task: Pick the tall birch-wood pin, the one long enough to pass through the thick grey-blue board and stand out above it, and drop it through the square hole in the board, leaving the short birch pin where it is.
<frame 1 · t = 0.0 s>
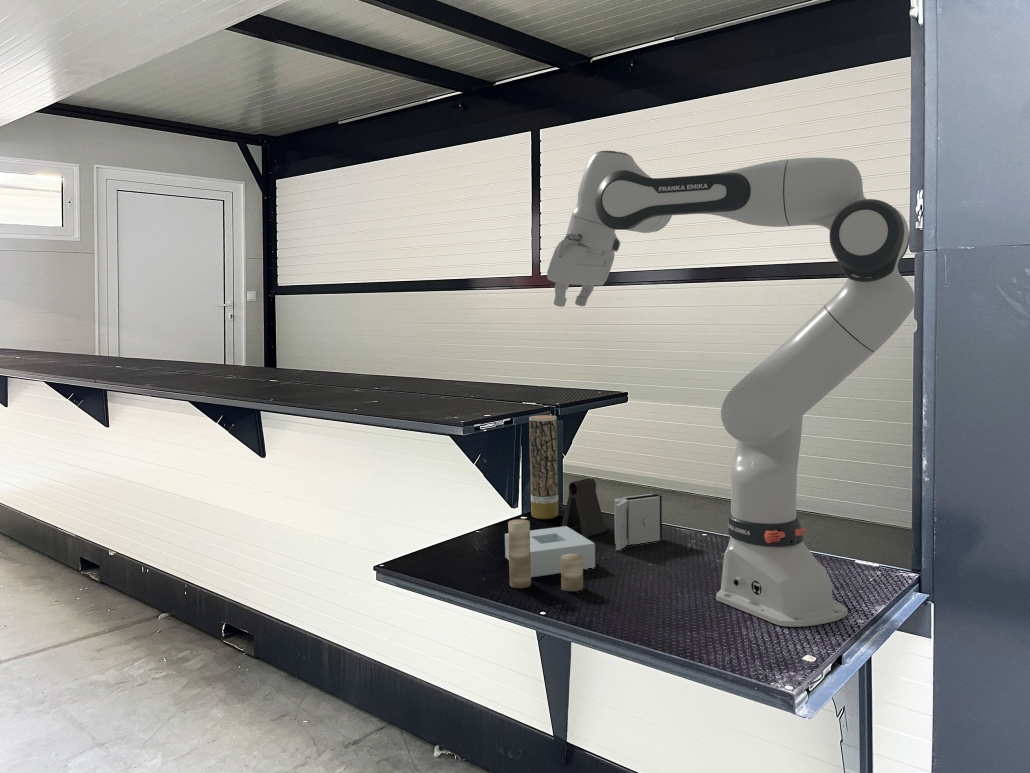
hand: (569, 305, 157), 52 cm above the counter, tool tilted 20°, fingers open, 8 cm apart
tall pin: (520, 584, 151), on the counter
bark-patterned tube: (544, 517, 200), on the counter
short pin: (572, 588, 148), on the counter
hinge: (635, 545, 175), on the counter
hole board: (549, 562, 164), on the counter
phone stand: (583, 532, 186), on the counter
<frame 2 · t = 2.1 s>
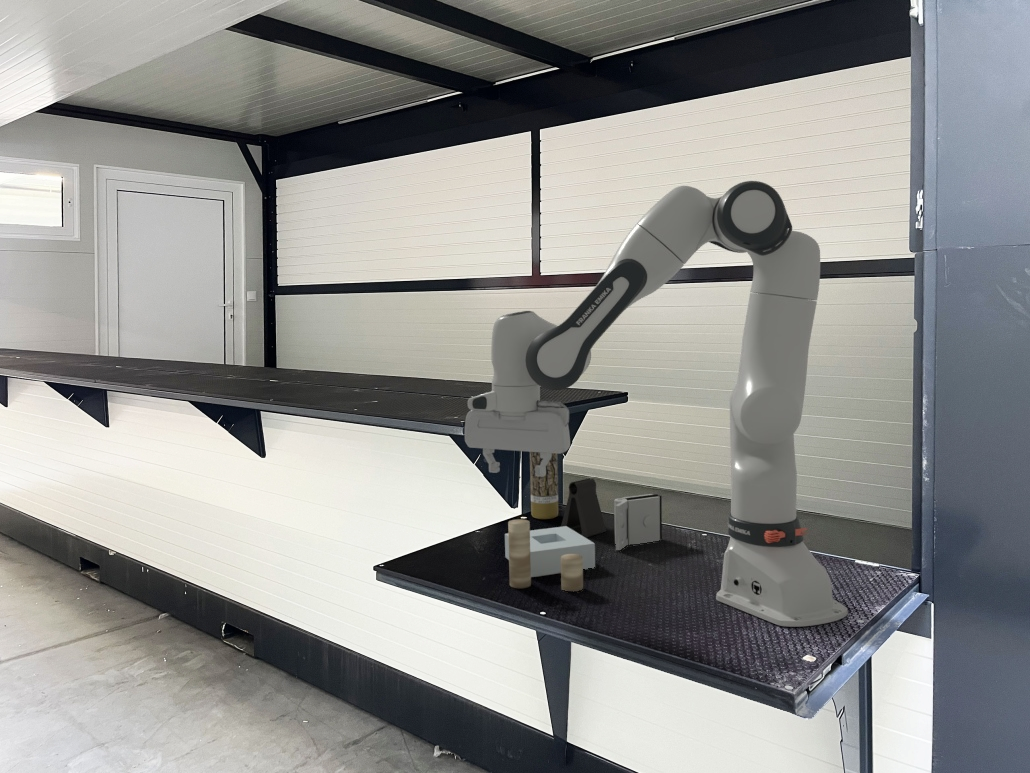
hand: (517, 474, 149), 21 cm above the counter, tool pointing down, fingers open, 8 cm apart
nothing on the counter moved.
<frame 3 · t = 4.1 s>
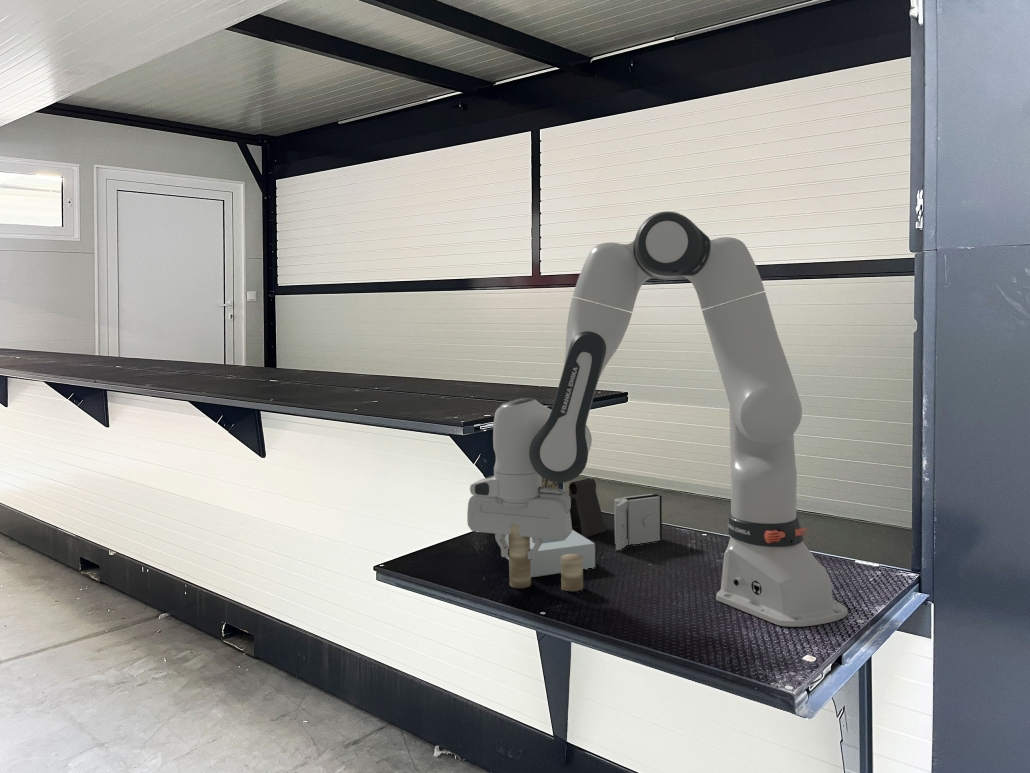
hand: (519, 558, 150), 5 cm above the counter, tool pointing down, fingers closed on tall pin, 4 cm apart
tall pin: (520, 584, 151), on the counter, touching gripper
everything else where it was.
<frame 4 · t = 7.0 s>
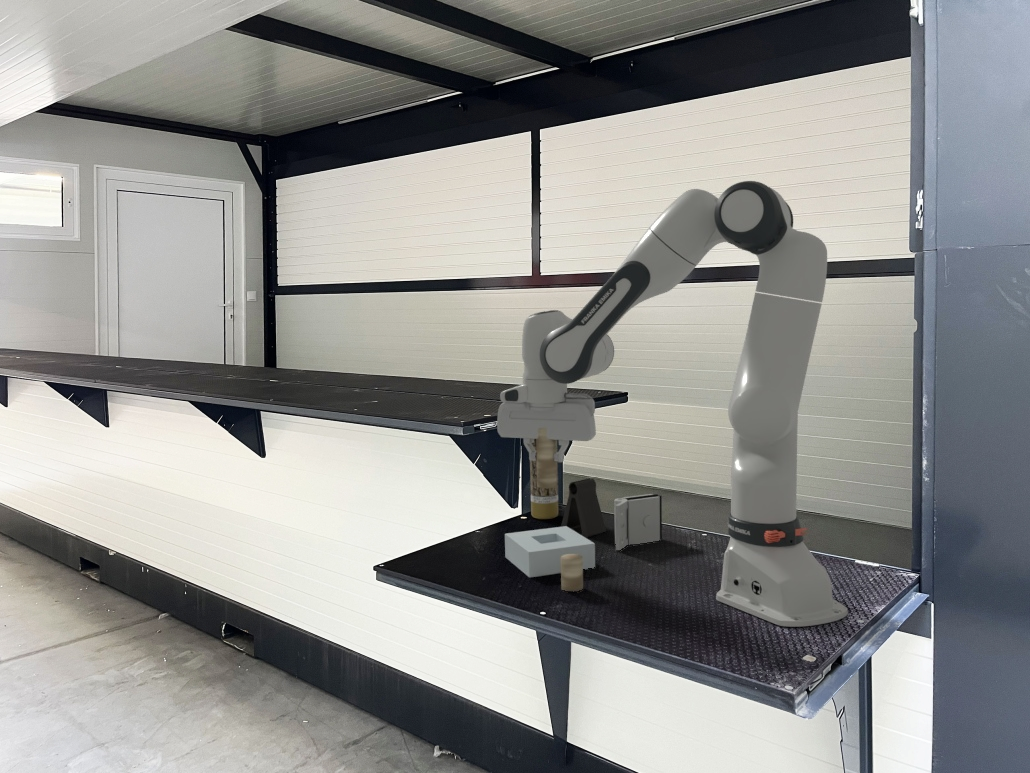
hand: (546, 460, 161), 21 cm above the counter, tool pointing down, fingers closed on tall pin, 4 cm apart
tall pin: (547, 486, 162), point 16 cm above the counter, touching gripper
everything else where it was.
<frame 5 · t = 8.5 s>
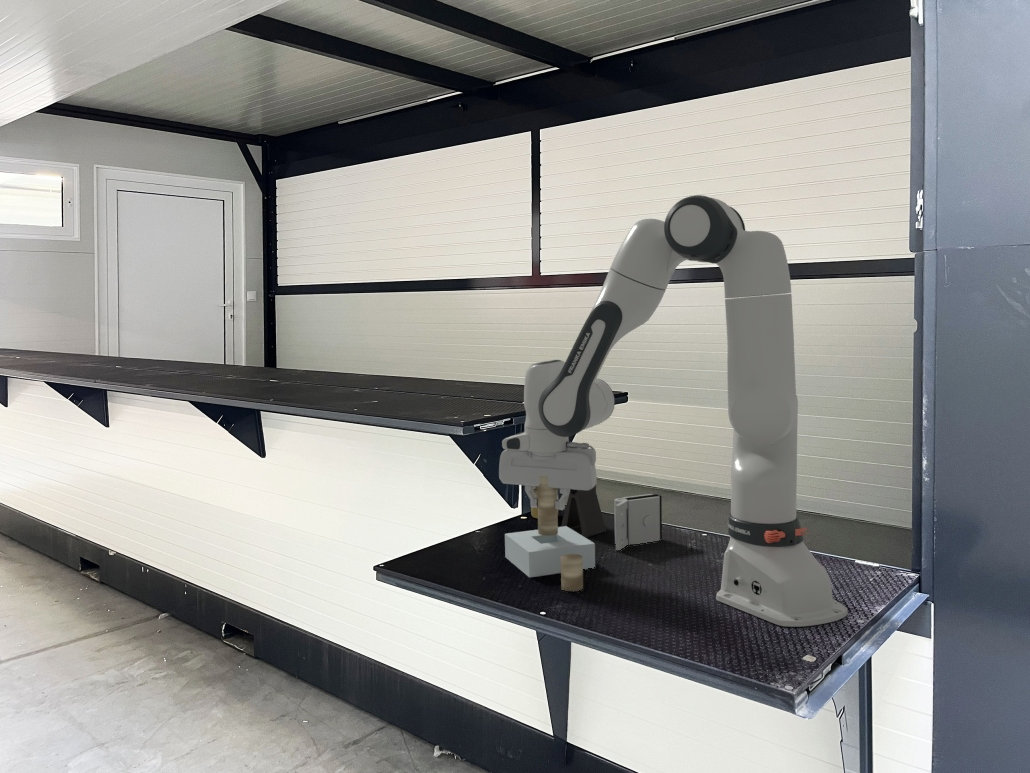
hand: (547, 508, 163), 11 cm above the counter, tool pointing down, fingers closed on tall pin, 4 cm apart
tall pin: (548, 532, 163), point 6 cm above the counter, touching gripper
everything else where it was.
when the fingers open (8 cm above the counter, at t = 9.9 s): tall pin drops 2 cm, resting in hole board.
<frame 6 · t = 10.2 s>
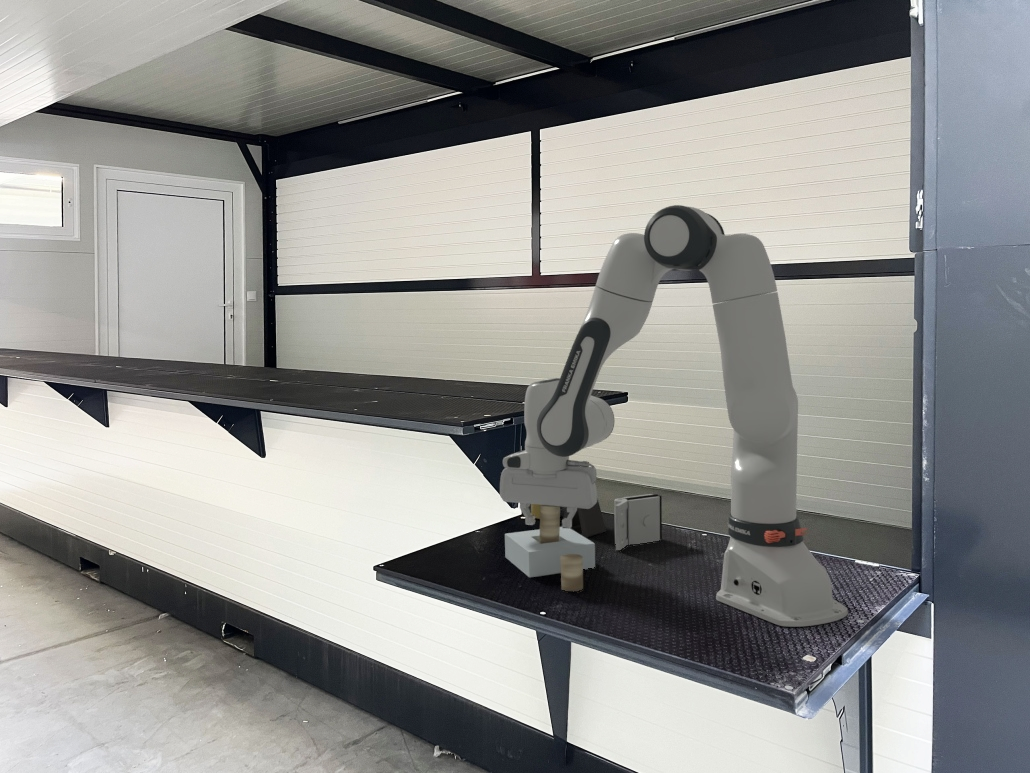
hand: (548, 526, 163), 8 cm above the counter, tool pointing down, fingers open, 7 cm apart
tall pin: (548, 562, 164), resting in hole board
everything else where it was.
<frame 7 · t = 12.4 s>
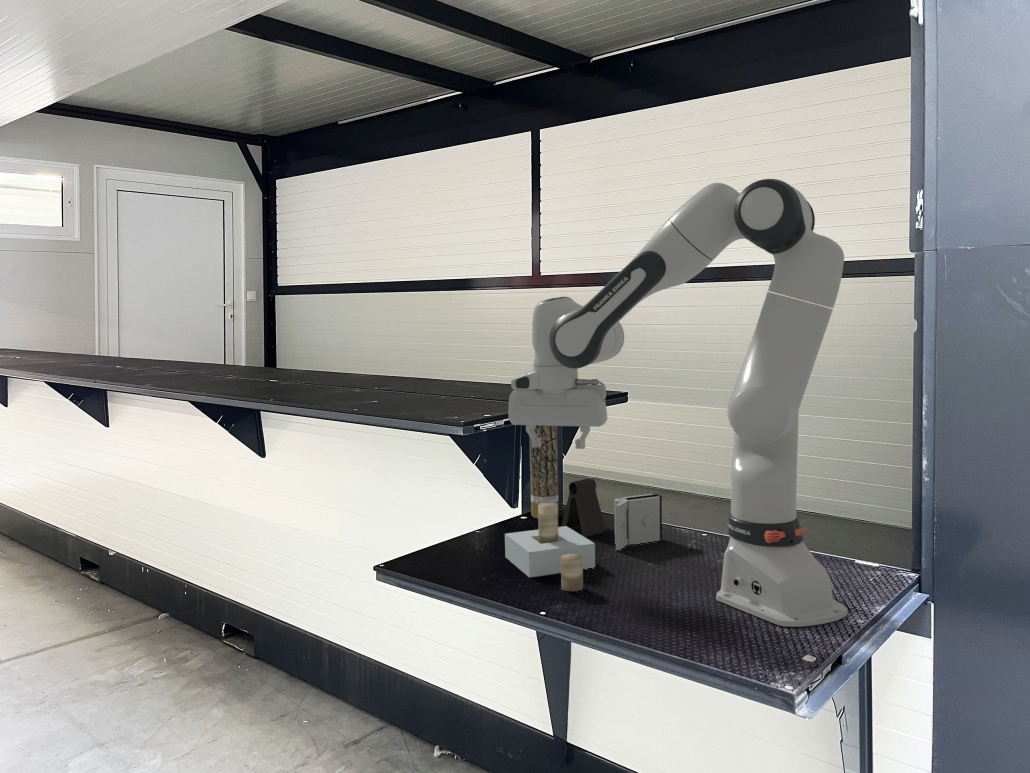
hand: (558, 447, 162), 24 cm above the counter, tool pointing down, fingers open, 8 cm apart
nothing on the counter moved.
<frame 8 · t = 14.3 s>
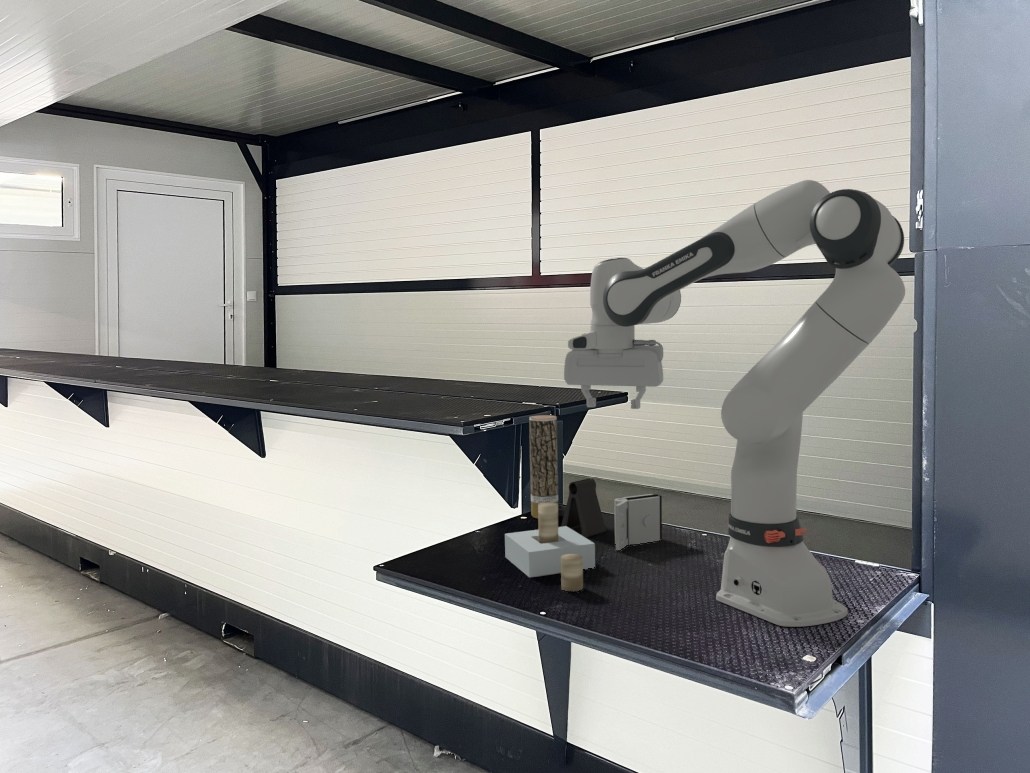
hand: (613, 407, 164), 31 cm above the counter, tool pointing down, fingers open, 8 cm apart
nothing on the counter moved.
at the end: tall pin 0.0 cm off-centre on the hole board, point 0.0 cm above the hole board's base; tall pin tilted 0°; short pin moved 0.0 cm from its start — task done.
